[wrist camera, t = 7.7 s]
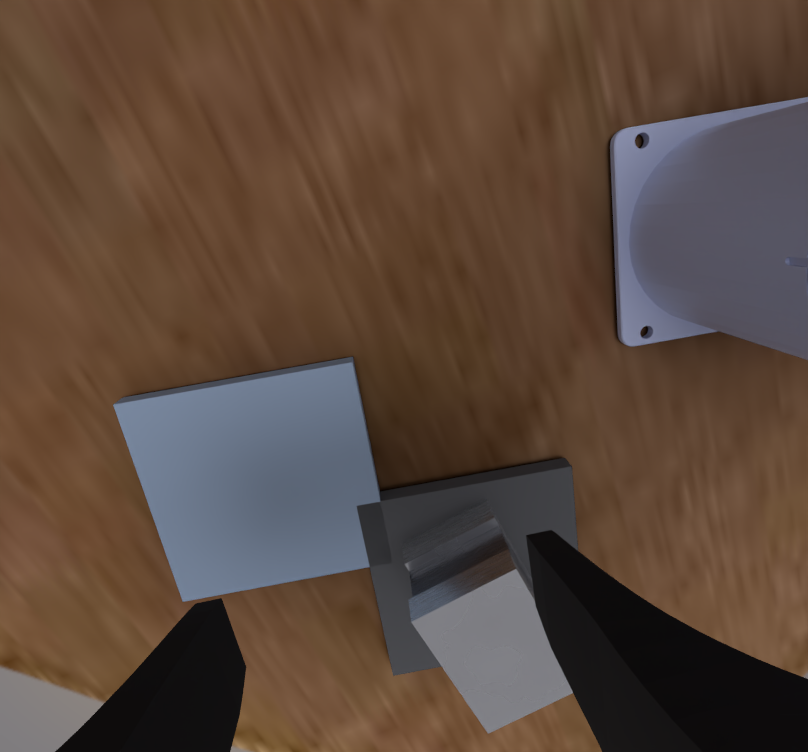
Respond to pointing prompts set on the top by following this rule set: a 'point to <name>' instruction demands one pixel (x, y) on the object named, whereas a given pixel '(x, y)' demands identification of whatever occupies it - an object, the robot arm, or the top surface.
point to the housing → (482, 617)
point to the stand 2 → (438, 501)
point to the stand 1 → (255, 476)
